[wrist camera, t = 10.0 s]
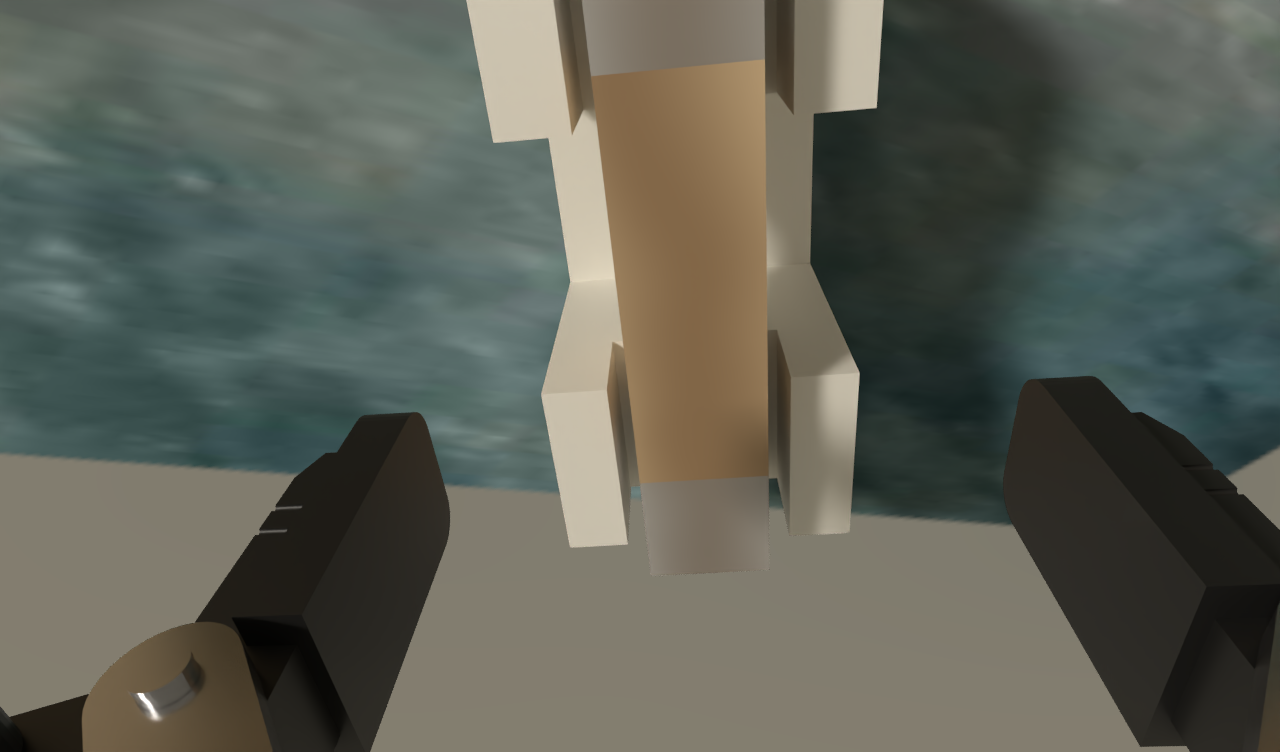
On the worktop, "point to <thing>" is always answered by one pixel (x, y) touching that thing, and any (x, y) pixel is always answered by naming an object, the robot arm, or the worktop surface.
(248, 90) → the worktop surface
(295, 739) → the robot arm
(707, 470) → the rail
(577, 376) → the white notched block
